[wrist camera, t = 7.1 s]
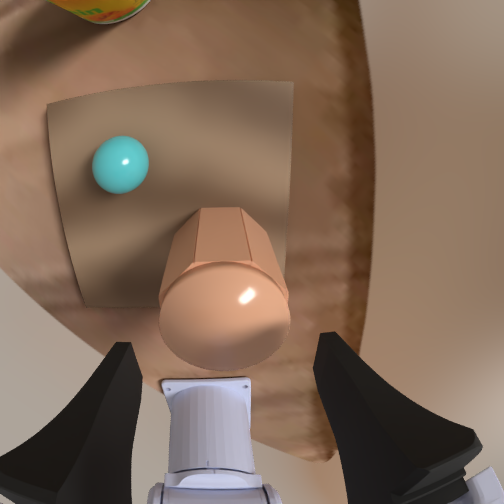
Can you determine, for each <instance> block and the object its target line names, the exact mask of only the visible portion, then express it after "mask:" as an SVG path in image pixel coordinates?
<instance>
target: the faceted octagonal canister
mask: <svg viewBox="0 0 504 504" xmlns="http://www.w3.org/2000/svg"><path fill="white" fill-rule="evenodd" d="M288 295H289V293H288V290H287V287H286V284H285V281H284V279H283V276H282V273H281V270H280V267H279V265H278V262H277V259H276V256H275V254H274V251H273V248H272V245H271V243H270V240H269V237H268V234H267V232H266V231H265V230H264V229H263V228H262V227H261V226H260V225H259V224H258V223H257V222H256V221H255V220H253V219H252V218H251V217H250V216H249V215H248V214H247V213H246V212H245V211H244V210H243V209H242V208H240V207H217V208H201V209H199V210H198V211H197V212H196V213H195V214H194V215H193V216H192V217H191V218H190V219H189V220H188V221H187V222H186V223H185V224H184V225H183V226H182V227H181V228H180V229H179V230H178V231H177V232H176V233H175V235H174V238H173V241H172V245H171V249H170V253H169V256H168V260H167V264H166V268H165V272H164V276H163V280H162V284H161V288H160V292H159V297H158V298H159V304H160V315H159V328H160V332H161V336H162V338H163V340H164V342H165V343H166V345H167V346H168V348H169V349H170V350H171V351H172V352H173V353H174V354H175V355H176V356H178V357H179V358H181V359H182V360H184V361H185V362H187V363H189V364H191V365H194V366H197V367H200V368H203V369H208V370H216V371H231V370H238V369H243V368H247V367H250V366H253V365H255V364H258V363H260V362H262V361H263V360H265V359H267V358H268V357H270V356H271V355H272V354H273V353H275V352H276V351H277V350H278V349H279V347H280V346H281V345H282V344H283V342H284V340H285V339H286V337H287V334H288V332H289V327H290V312H289V309H288V306H287V304H288Z"/></svg>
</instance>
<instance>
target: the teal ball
mask: <svg viewBox="0 0 504 504" xmlns="http://www.w3.org/2000/svg"><path fill="white" fill-rule="evenodd" d="M148 168H149V158H148V154H147V151H146V149H145V148H144V146H143V145H142V144H141V143H140V142H139V141H138V140H136V139H134V138H132V137H129V136H115V137H112V138H110V139H108V140H106V141H105V142H103V143H102V144H101V145H100V146H99V148H98V149H97V151H96V152H95V154H94V157H93V161H92V172H93V176H94V178H95V180H96V182H97V183H98V185H99V186H100V187H101V188H103V189H104V190H106V191H107V192H110V193H114V194H124V193H128V192H130V191H133V190H134V189H136V188H137V187H138V186H139V185H140V184H141V183H142V182H143V181H144V179H145V177H146V175H147V172H148Z"/></svg>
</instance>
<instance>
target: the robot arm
mask: <svg viewBox="0 0 504 504" xmlns="http://www.w3.org/2000/svg"><path fill="white" fill-rule="evenodd" d="M313 371H314V375H315V380H316V384H317V389H318V392H319V395H320V398H321V400H322V403H323V406H324V409H325V411H326V414H327V417H328V419H329V422H330V425H331V428H332V430H333V433H334V436H335V439H336V443H337V447H338V451H339V455H340V460H341V464H342V469H343V474H344V479H345V486H346V492H347V498H348V504H504V491H503V489H502V487H501V485H500V482H499V480H498V478H497V476H496V474H495V472H494V470H493V468H492V467H491V466H490V467H488V468H486V469H485V470H483V471H481V472H480V473H478V474H476V475H475V476H473V477H471V478H470V479H468V480H467V481H465V480H464V478H463V476H465V475H466V472H465V470H464V467H465V466H466V465H467V464H468V463H469V462H470V461H471V460H472V459H474V458H475V457H476V456H477V455H478V454H479V453H480V452H481V450H482V447H483V446H482V444H481V442H480V440H479V439H478V437H477V435H476V433H475V432H474V430H473V429H471V428H468V427H465V426H462V425H460V424H457V423H454V422H452V421H449V420H447V419H445V418H443V417H440V416H438V415H436V414H434V413H432V412H430V411H429V410H427V409H425V408H423V407H422V406H420V405H418V404H416V403H415V402H413V401H412V400H410V399H409V398H407V397H406V396H405V395H403V394H402V393H400V392H399V391H398V390H396V389H395V388H394V387H392V386H391V385H389V384H388V383H387V382H386V381H385V380H384V379H383V378H381V377H380V376H379V375H378V374H377V373H376V372H375V371H374V370H372V368H370V367H369V366H368V365H367V364H366V363H365V362H364V361H363V360H362V359H361V358H360V357H359V356H358V355H357V354H356V353H355V352H354V351H353V350H352V349H351V348H350V347H349V346H348V344H347V343H346V342H345V341H344V340H343V339H342V338H341V337H340V336H339V335H338V334H337V333H336V332H327V333H320V337H319V342H318V347H317V351H316V356H315V361H314V366H313ZM142 379H143V376H142V374H141V371H140V368H139V365H138V362H137V359H136V356H135V353H134V350H133V347H132V344H131V342H116V343H115V344H114V345H113V347H112V348H111V350H110V351H109V352H108V354H107V355H106V357H105V358H104V359H103V361H102V362H101V363H100V365H99V366H98V368H97V369H96V370H95V372H94V373H93V374H92V376H91V377H90V378H89V380H88V381H87V382H86V384H85V385H84V386H83V387H82V388H81V390H80V391H79V392H78V393H77V394H76V396H75V397H74V398H73V399H72V400H71V401H70V402H69V404H68V405H67V406H66V407H65V408H64V409H63V410H62V411H61V412H60V413H59V414H58V415H57V416H56V417H55V418H54V419H53V420H52V421H51V422H49V423H48V424H47V425H46V426H45V427H44V428H42V429H41V430H40V431H39V432H38V433H36V434H35V435H34V436H33V437H31V438H30V439H28V440H27V441H25V442H24V443H23V444H21V445H20V446H18V447H16V448H15V449H13V450H11V451H9V452H8V453H6V454H4V455H2V456H1V457H0V494H2V495H3V496H5V497H6V498H8V499H9V500H11V501H12V502H14V503H15V504H132V497H131V458H132V448H133V441H134V436H135V430H136V424H137V418H138V414H139V408H140V403H141V394H142ZM162 388H163V391H164V394H165V397H166V400H167V403H168V406H169V409H170V412H171V425H170V444H169V466H168V473H165V483H156V484H155V486H153V487H152V488H151V489H150V491H149V494H148V500H147V504H282V501H281V498H280V496H279V493H278V492H277V491H276V490H275V489H274V488H273V487H272V486H271V485H270V484H262V480H261V475H260V474H255V466H254V459H253V452H252V444H251V436H250V406H251V381H250V379H249V378H247V377H241V378H223V379H193V380H163V381H162ZM0 504H3V503H0Z"/></svg>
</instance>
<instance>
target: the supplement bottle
mask: <svg viewBox="0 0 504 504" xmlns="http://www.w3.org/2000/svg"><path fill="white" fill-rule="evenodd" d="M46 1H48V2H50V3H53V4H55V5H57V6H59V7H61V8H63V9H65V10H67V11H69V12H71V13H73V14H75V15H77V16H79V17H81V18H83V19H85V20H87V21H90V22H92V23H96V24H111V23H116V22H119V21H122V20H125V19H127V18H129V17H131V16H133V15H135V14H136V13H138V12H139V11H140V10H142V9H143V8H144V7H145V6H146V5H147V4H148V3H149V2H150V1H151V0H46Z"/></svg>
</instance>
